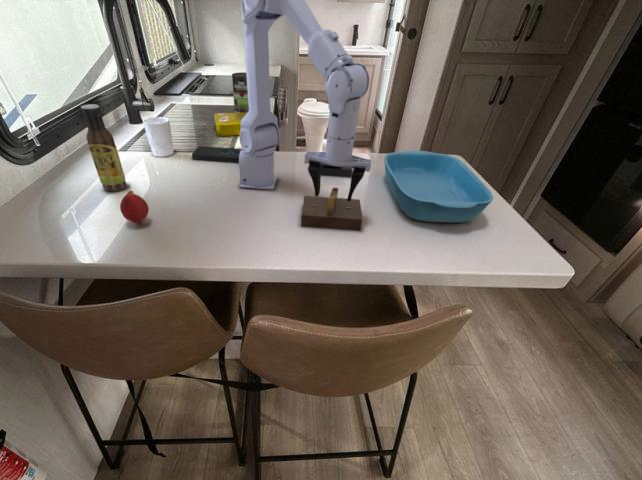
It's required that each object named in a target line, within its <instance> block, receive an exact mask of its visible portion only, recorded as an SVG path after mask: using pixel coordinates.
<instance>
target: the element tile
mask: <svg viewBox="0 0 642 480" xmlns="http://www.w3.org/2000/svg"><path fill="white" fill-rule="evenodd" d="M247 113H248V112H242V113H235V112H217V113H215V114H213V118H214V119H213V120H214V127H215V132H216V135H217V136H218V137H234V136H235V137H238V136H239V137H240V131H241V120H242V119H243V117H244V116H245V115H246V114H247Z"/></svg>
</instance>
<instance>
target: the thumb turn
mask: <svg viewBox="0 0 642 480" xmlns="http://www.w3.org/2000/svg"><path fill="white" fill-rule="evenodd" d="M338 196H339V188H338V187H335V186H334V187H333V188H332V189H331V192H330V194H329V195H328V197H329V198H328V207H327V212H333V210H334V208H335V205H336V203H337V198H339V197H338Z"/></svg>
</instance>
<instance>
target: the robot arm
mask: <svg viewBox="0 0 642 480" xmlns="http://www.w3.org/2000/svg"><path fill="white" fill-rule="evenodd" d="M240 4H241V5H240V7H241V21H242V30H243V43H244V59H245V61H244V62H245V73H246V75H247V90H248V105H249V111H248V113H247V114H246V115H245V116H244V117H243V119H242V120H241V131H240V136H239V143H240V146H241V149H244V150H241V151H240V155H239V163H238V170H239V183H240V185H239V188H243V189H257V190H274V189H275V186H276V184H277V183H276V182H277V179H278V177H277V176H275V151H277V147H278V146H279V144H280V142H281V131H280V127H279V121H278V119H279V118H278V117H277V115H275V114H274V113H273V112H272V110H271V85H270V51H269V48H270V47H269V31H270V29H271V28H272V27H273V25H274V23H275V22H276V21H278V20H279V19H280V18H282V17H283V16H284V17H285V18H286V19H287V21H288V22H289V23H290V25H292V27H293V28H294V29H295V31H296V32H297V33H298V34H299V36H301V38H302V39H303V40H304V42H305V43H306V44H307V46H308V47H307V57H308V58H309V60H310V61H311V63H312V64H313V65H314V67H315V68H316V70H317V71H318V73H319V75H320V76H321V77H322V78H323V80H324V82H325V93H326V96H327V98H328V111H329V116H328V125H327V127H328V128H327V136H326V146H325V151H306V153H305V154H304V161H303V163H304V164H306V165H307V164H308V166H307V171H308V174H309V176H310V178H311V182H312V185H313V190H314V196H316V197H319V195H320V193H321V182H322V181H321V178H322V175H321V172H322V165H330V166H338V167H345V168H352V173H351V177H350V186H349V191H348V195H347V198H346V199H347V201H351V199H353V194H354V192H355V190H356V188H357V187H358V185H359V183H360V182H361V180H363V178H364V175H365V172H366V173H370V172H371V168H372V163H373V159H369V158H364V157H361V156H357V155H353V151H354V143H355V139H356V132H357V125H358V119H359V112H360V106H361V100H362V98H363V97H364V96H365V95H366V94H367V92H368V90H369V87H370V75H369V71H368V69H367V67H366V65H365V64H363V63H361V62H355V60H354V58H353V56H352V55H351V54H349V53H348V52H347V50H346V49H345V48H344V45H342V44H341V42H340V40H339V38H340V36H339V34H338V33H337V32H336V31H332V30H331V29H323V28H322V26H321V25H320V23H319V21H318V20H317V18H316V16H315V15H314V13H313V11H312V10H311V8H310V6H309V5H308V3H307V2H306V0H240Z"/></svg>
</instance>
